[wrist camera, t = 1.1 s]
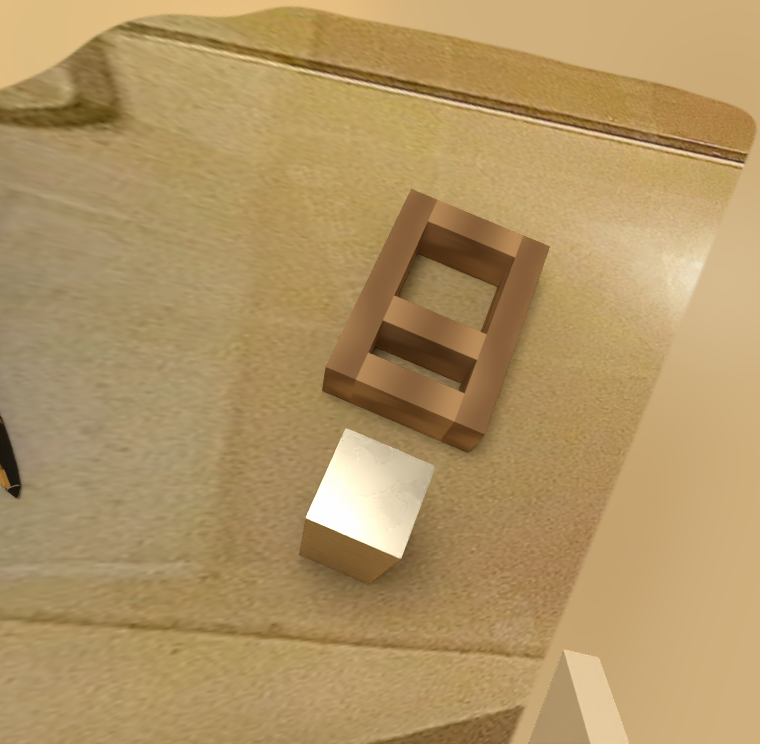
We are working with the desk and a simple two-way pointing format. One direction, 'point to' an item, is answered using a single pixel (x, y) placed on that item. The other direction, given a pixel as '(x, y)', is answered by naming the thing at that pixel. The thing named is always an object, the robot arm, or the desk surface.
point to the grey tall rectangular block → (365, 507)
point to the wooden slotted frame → (436, 325)
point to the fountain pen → (7, 464)
